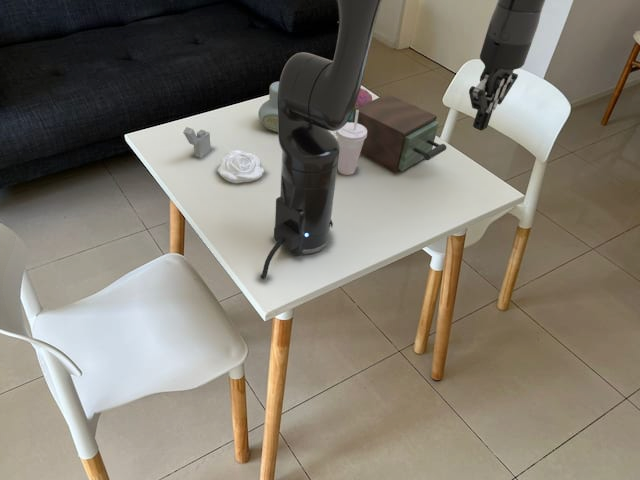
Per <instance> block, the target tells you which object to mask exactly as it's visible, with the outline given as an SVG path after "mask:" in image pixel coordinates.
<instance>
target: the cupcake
mask: <svg viewBox="0 0 640 480" xmlns="http://www.w3.org/2000/svg"><path fill="white" fill-rule="evenodd" d="M370 101H373V96H372V94H371V93H370V92H369V91H368V90H366V89H364V88H362V87H361V88H360V92H359V96H358V99H357V102H356V105H355V108H357V107H360V106H362V105H364V104H366V103H368V102H370ZM355 108H354V109H355ZM353 113H354V110H353V112H352V114H351V116H350V118H349V120H348V121H350V122H352V120H353Z"/></svg>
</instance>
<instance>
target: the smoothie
mask: <svg viewBox="0 0 640 480" xmlns="http://www.w3.org/2000/svg"><path fill="white" fill-rule="evenodd" d="M358 113H359V110H356V115H355V122H354V123H352V121H350V122H348V121H347V123H346V124H345V125H344V126H343V127H342V128H341V129H339V130H337V131H335V135H336V137H337V138H336V139H337V141H338V143H339V159H338V167H337V172H339V173H340V174H342V175H345V176H346V175H347V176H349V175H353V174H354V173H355V172H356V169H357V165H358V162H359V159H360V155H361V154H360V152H361V149H362V146H363V142H364V139H365V138H366V137H367V129H366V128H365V127H364V126H362V125H360V124H357V120H358Z"/></svg>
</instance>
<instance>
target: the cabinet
mask: <svg viewBox="0 0 640 480" xmlns="http://www.w3.org/2000/svg"><path fill="white" fill-rule="evenodd" d="M356 110H359V113H358V120H357V124H360V125H362V126H364V127H365V128H366V129H367V137H366V138H365V139H364V142H363V146H362V149H361V152H360V155H361V156H363V157H365V158H367V159H368V160H370V161H372V162H374V163H376V164H377V165H379V166H382V167H383V168H385V169H386V170H389V171H391V172H393V173H394V174H396V173H398V172H400V171H401V170H400V169H398V167H399V162H400V158H401V153H402V149H403V144H404V140H405V136H406V135H408V134H410V133H412V132H413V131H415V130H417V129H419V128H421V127H423V126H425V125H428V124H430V123H431V122H433V121H436V122H437V119H438V118H437V117H438V116H437V115H436V114H435V113H432V112H429V111H427V110H426V109H425V110H424V109H423V108H420V107H418V106H416V105H414V104H411V103H410V102H407V101H405V100H403V99H400V98H398V97H396V96H394V95H392V94H389V93H386V94H384V95H382V96H380V97H377V98H375V99H372V101H370V102H368V103H366V104H364V105H362V106H360V107H357V108H355V109H354V113H353V120H352V121H351V123H354V122H355V115H356Z"/></svg>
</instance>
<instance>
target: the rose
mask: <svg viewBox="0 0 640 480" xmlns="http://www.w3.org/2000/svg"><path fill="white" fill-rule="evenodd" d="M264 172H265V169H264V168H263V167H262V166H261V159H260V158H259V157H258V156H257V155H255V154H253V153H250V152H245V151H243V150H241V149H235V150H231V151H229V152H227V153H226V154H225V155H224V156H223V157H222V160H221V161H220V165H219V167H218V169H217V173H218V174H219V176H221V177H222V178H223V179H224V180H225V181H226V182H229V183H232V184H242V183H252V182H255V181H257V180H259V179H261V178H262V176H263V174H264Z"/></svg>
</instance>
